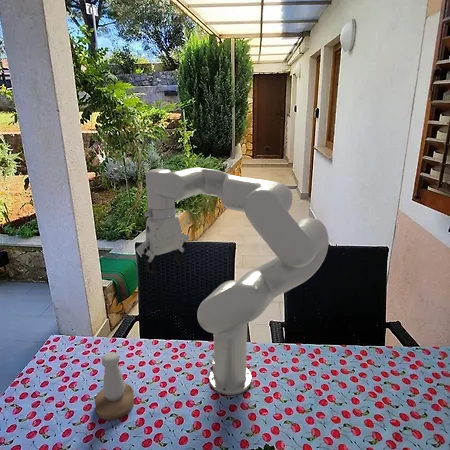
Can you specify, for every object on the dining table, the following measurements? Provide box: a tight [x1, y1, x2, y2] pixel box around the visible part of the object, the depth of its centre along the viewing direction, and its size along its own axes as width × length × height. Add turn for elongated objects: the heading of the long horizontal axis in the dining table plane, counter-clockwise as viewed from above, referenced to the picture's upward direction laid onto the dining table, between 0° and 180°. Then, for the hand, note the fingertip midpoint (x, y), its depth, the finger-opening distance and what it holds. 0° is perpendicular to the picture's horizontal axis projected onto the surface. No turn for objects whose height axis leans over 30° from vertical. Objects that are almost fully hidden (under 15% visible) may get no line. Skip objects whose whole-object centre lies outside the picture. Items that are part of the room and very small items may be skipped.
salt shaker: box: [101, 351, 126, 402], centre depth 91 cm, size 6×6×13 cm
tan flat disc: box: [94, 383, 135, 421], centre depth 93 cm, size 10×10×3 cm
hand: (165, 268), depth 102 cm, fingers open, 9 cm apart
